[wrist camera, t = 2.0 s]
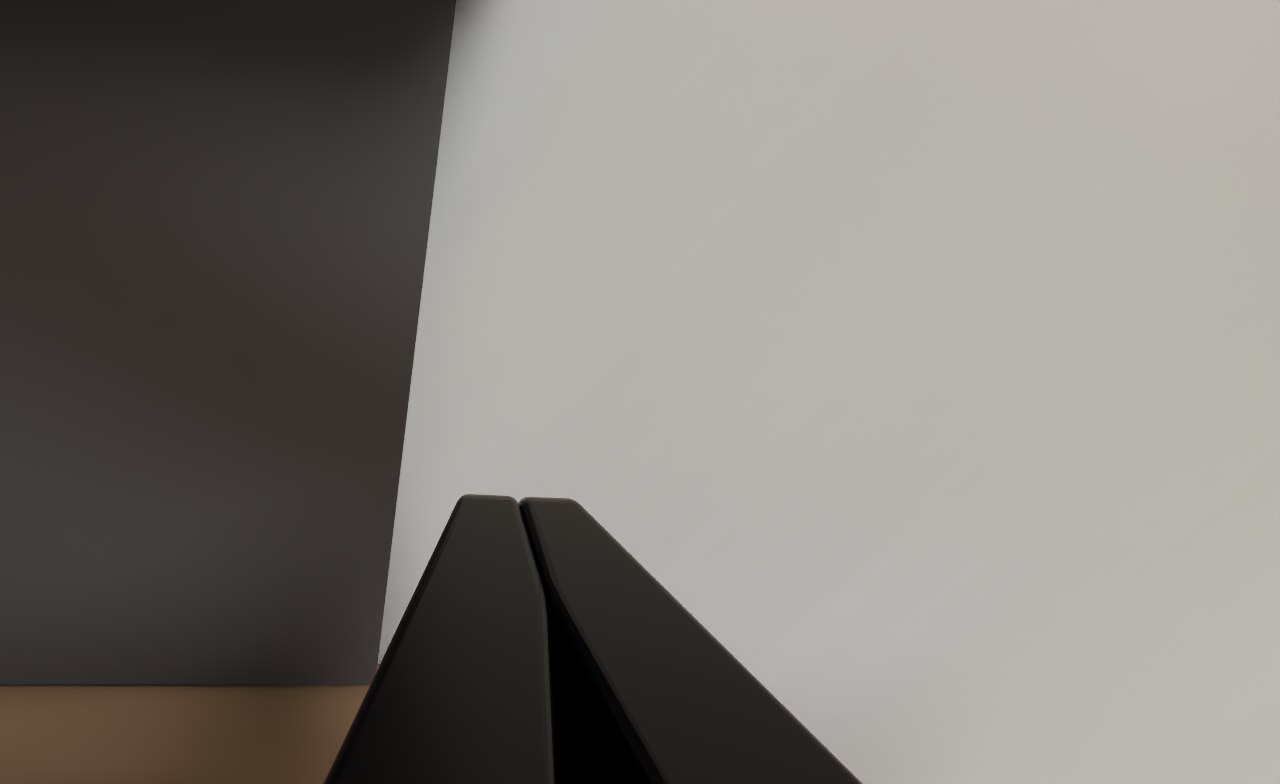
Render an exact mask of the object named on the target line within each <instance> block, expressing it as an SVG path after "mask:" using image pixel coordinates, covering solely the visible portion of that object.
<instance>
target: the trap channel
mask: <svg viewBox="0 0 1280 784" xmlns="http://www.w3.org/2000/svg"><path fill="white" fill-rule="evenodd" d="M455 5H456V0H0V784H324V782H325V779H326V777H327V775H328V773H329V771H330V769H331V767H332V765H333V763H334V760H335V758H336V756H337V754H338V752H339V750H340V748H341V746H342V744H343V741H344V739H345V737H346V735H347V733H348V731H349V729H350V727H351V725H352V723H353V720H354V718H355V716H356V714H357V712H358V710H359V708H360V706H361V704H362V701H363V699H364V697H365V695H366V693H367V691H368V689H369V687H370V685H371V683H372V680H373V678H374V676H375V674H376V672H377V670H378V668H379V666H380V664H377V662H378V653H379V645H380V636H381V628H382V620H383V611H384V603H385V594H386V586H387V577H388V569H389V561H390V552H391V544H392V535H393V527H394V519H395V510H396V502H397V493H398V485H399V476H400V468H401V460H402V451H403V443H404V434H405V426H406V417H407V409H408V401H409V392H410V384H411V375H412V367H413V358H414V350H415V342H416V333H417V325H418V316H419V308H420V299H421V291H422V283H423V274H424V266H425V257H426V249H427V240H428V232H429V224H430V215H431V207H432V198H433V190H434V181H435V173H436V165H437V156H438V148H439V139H440V131H441V122H442V114H443V106H444V97H445V89H446V80H447V72H448V63H449V55H450V47H451V38H452V30H453V21H454V13H455Z"/></svg>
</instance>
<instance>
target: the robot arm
mask: <svg viewBox="0 0 1280 784" xmlns="http://www.w3.org/2000/svg"><path fill="white" fill-rule="evenodd" d="M324 784H862V783H861V782H860V781H859V780H858V779H857V778H856V777H855V776H854V775H853V774H852V773H851V772H850V771H849V770H848V769H847V768H846V767H845V766H844V765H843V764H842V763H841V762H840V761H839V760H838V759H837V758H836V757H835V756H834V755H833V754H832V753H831V752H830V751H829V750H828V749H827V748H826V747H825V746H824V745H823V744H822V743H821V742H820V741H819V740H818V739H817V738H816V737H815V736H814V735H813V734H812V733H811V732H810V731H809V730H808V729H807V728H806V727H805V726H804V725H802V724H801V723H800V722H799V721H798V720H797V719H796V718H795V717H794V716H793V715H792V714H791V713H790V712H789V711H788V710H787V709H786V708H785V707H784V706H783V705H782V704H781V703H780V702H779V701H778V700H777V699H776V698H775V697H774V696H773V695H772V694H771V693H770V692H769V691H768V690H767V689H766V688H765V687H764V686H763V685H762V684H761V683H760V682H759V681H758V680H757V679H756V678H755V677H754V676H753V675H752V674H751V673H750V672H749V671H748V670H747V669H746V668H745V667H744V666H743V665H742V664H741V663H740V662H739V661H738V660H737V659H736V658H735V657H734V656H733V655H732V654H731V653H730V652H729V651H728V650H727V649H726V648H725V647H724V646H723V645H722V644H721V643H720V642H719V641H718V640H717V639H715V638H714V637H713V636H712V635H711V634H710V633H709V632H708V631H707V630H706V629H705V628H704V627H703V626H702V625H701V624H700V623H699V622H698V621H697V620H696V619H695V618H694V617H693V616H692V615H691V614H690V613H689V612H688V611H687V610H686V609H685V608H684V607H683V606H682V605H681V604H680V603H679V602H678V601H677V600H676V599H675V598H674V597H673V596H672V595H671V594H670V593H669V592H668V591H667V590H666V589H665V588H664V587H663V586H662V585H661V584H660V583H659V582H658V581H657V580H656V579H655V578H654V577H653V576H652V575H651V574H650V573H649V572H648V571H647V570H646V569H645V568H644V567H643V566H642V565H641V564H640V563H639V562H638V561H637V560H636V559H635V558H634V557H633V556H632V555H631V554H630V553H629V552H627V551H626V550H625V549H624V548H623V547H622V546H621V545H620V544H619V543H618V542H617V541H616V540H615V539H614V538H613V537H612V536H611V535H610V534H609V533H608V532H607V531H606V530H605V529H604V528H603V527H602V526H601V525H600V524H599V523H598V522H597V521H596V520H595V519H594V518H593V517H592V516H591V515H590V514H589V513H588V512H587V511H586V510H585V509H584V508H583V507H582V506H581V505H580V504H579V503H577V502H576V501H574V500H572V499H565V498H541V497H525V498H523V499H522V500H521V501H520V502H519V503H518V502H517V501H516V500H515V499H514V498H512V497H509V496H496V495H474V494H468V495H464V496H462V497H461V498H460V499H459V500H458V502H457V504H456V506H455V508H454V510H453V512H452V514H451V516H450V518H449V520H448V522H447V525H446V527H445V529H444V531H443V533H442V535H441V537H440V539H439V541H438V544H437V546H436V548H435V550H434V552H433V554H432V556H431V558H430V560H429V562H428V565H427V567H426V569H425V571H424V573H423V575H422V577H421V579H420V581H419V584H418V586H417V588H416V590H415V592H414V594H413V596H412V598H411V600H410V602H409V605H408V607H407V609H406V611H405V613H404V615H403V617H402V619H401V621H400V624H399V626H398V628H397V630H396V632H395V634H394V636H393V638H392V640H391V643H390V645H389V647H388V649H387V651H386V653H385V655H384V657H383V659H382V661H381V664H380V666H379V668H378V670H377V672H376V674H375V676H374V678H373V680H372V683H371V685H370V687H369V689H368V691H367V693H366V695H365V697H364V699H363V701H362V704H361V706H360V708H359V710H358V712H357V714H356V716H355V718H354V720H353V723H352V725H351V727H350V729H349V731H348V733H347V735H346V737H345V739H344V741H343V744H342V746H341V748H340V750H339V752H338V754H337V756H336V758H335V760H334V763H333V765H332V767H331V769H330V771H329V773H328V775H327V777H326V779H325V782H324Z"/></svg>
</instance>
